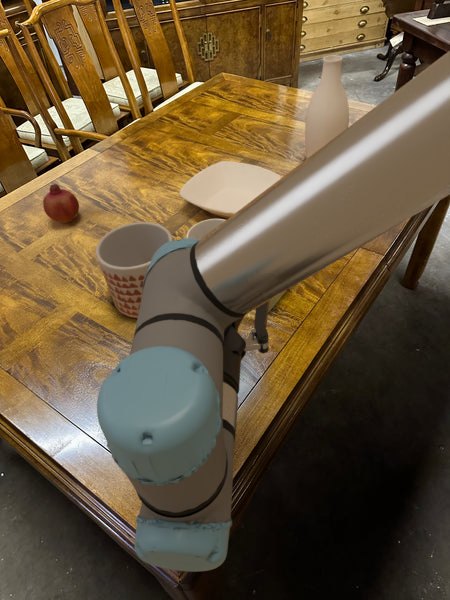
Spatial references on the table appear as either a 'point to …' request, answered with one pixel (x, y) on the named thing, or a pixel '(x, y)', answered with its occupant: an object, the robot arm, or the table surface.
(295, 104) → the table surface
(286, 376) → the table surface
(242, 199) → the bowl
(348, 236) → the robot arm
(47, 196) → the fruit
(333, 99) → the bottle
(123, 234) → the planter
